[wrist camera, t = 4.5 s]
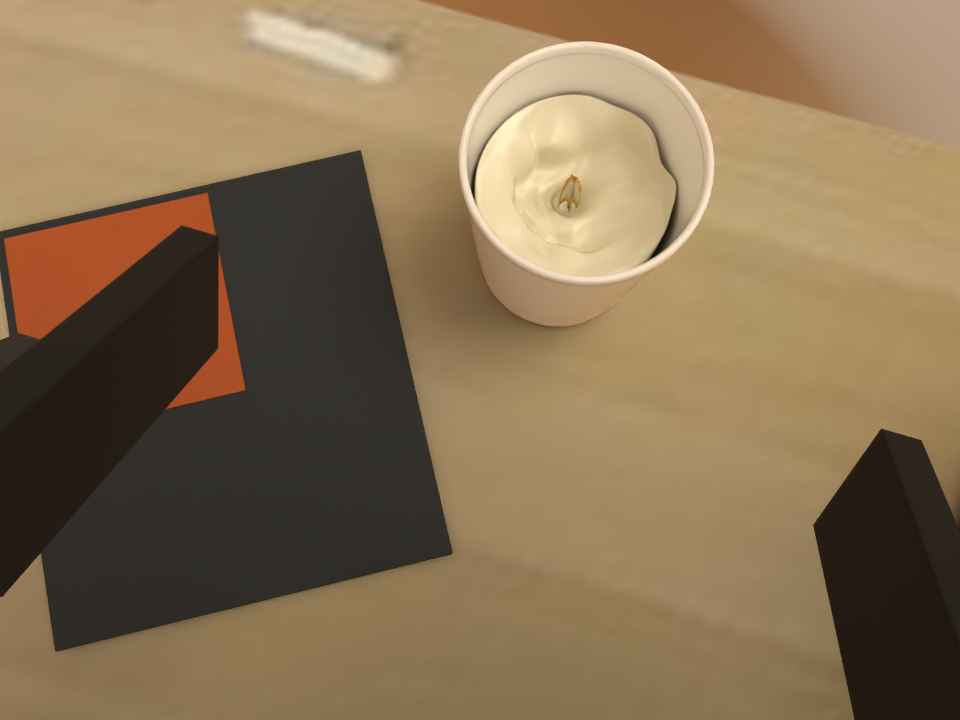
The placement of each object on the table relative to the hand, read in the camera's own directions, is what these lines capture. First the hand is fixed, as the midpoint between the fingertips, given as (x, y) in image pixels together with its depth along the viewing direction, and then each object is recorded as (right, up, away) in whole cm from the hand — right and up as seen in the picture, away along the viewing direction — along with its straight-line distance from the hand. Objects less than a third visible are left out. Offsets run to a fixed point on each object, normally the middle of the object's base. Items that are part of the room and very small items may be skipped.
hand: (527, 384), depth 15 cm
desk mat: (-15, -1, +25) cm, 29 cm away
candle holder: (+3, +6, +26) cm, 27 cm away
